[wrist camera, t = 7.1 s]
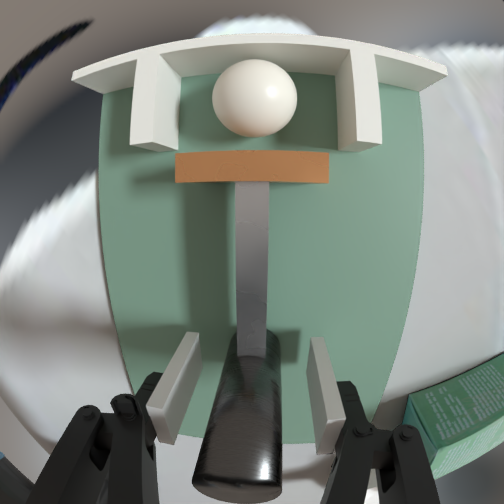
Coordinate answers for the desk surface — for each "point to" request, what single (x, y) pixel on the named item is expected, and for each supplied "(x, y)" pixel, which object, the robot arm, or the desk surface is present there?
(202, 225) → the pitch
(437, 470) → the box
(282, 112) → the ball
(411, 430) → the robot arm
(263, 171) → the small squeegee
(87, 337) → the desk surface
